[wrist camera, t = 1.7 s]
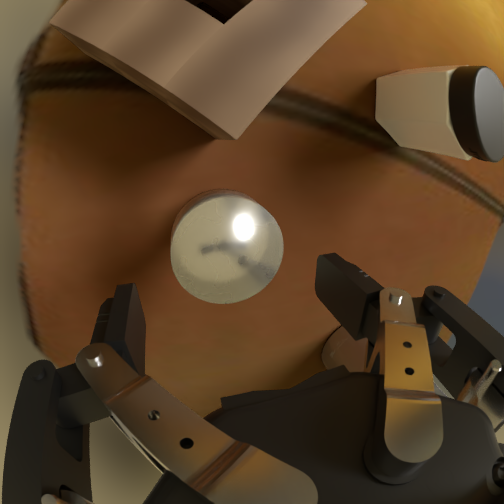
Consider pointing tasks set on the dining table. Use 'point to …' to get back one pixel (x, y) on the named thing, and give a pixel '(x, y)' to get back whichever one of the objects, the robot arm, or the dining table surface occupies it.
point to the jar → (444, 110)
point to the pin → (225, 246)
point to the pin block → (205, 49)
